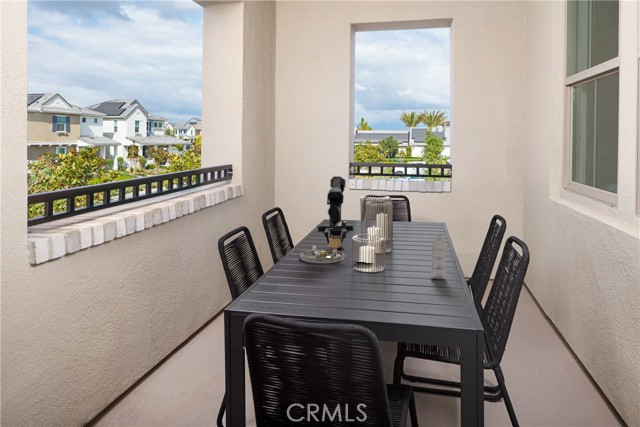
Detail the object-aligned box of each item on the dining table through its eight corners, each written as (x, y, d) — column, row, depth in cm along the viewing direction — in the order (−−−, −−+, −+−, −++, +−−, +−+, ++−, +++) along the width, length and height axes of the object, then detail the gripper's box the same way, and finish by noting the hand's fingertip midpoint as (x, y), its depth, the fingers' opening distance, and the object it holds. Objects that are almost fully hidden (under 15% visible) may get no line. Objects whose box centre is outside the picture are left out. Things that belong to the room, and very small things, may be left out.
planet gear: (327, 245, 256) (327, 237, 255) (339, 244, 257) (339, 236, 256) (329, 247, 249) (329, 239, 249) (342, 247, 251) (342, 239, 250)
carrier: (297, 254, 262) (297, 244, 261) (339, 252, 266) (339, 243, 265) (303, 264, 240) (303, 254, 239) (348, 262, 244) (348, 252, 243)
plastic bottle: (433, 276, 219) (434, 232, 216) (447, 278, 215) (449, 234, 212) (427, 279, 214) (429, 235, 211) (442, 281, 210) (444, 236, 207)
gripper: (319, 217, 241) (319, 248, 244) (356, 216, 245) (355, 246, 247) (316, 214, 252) (316, 243, 255) (351, 213, 255) (350, 242, 258)
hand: (334, 244), depth 253 cm, fingers closed on planet gear, 7 cm apart
